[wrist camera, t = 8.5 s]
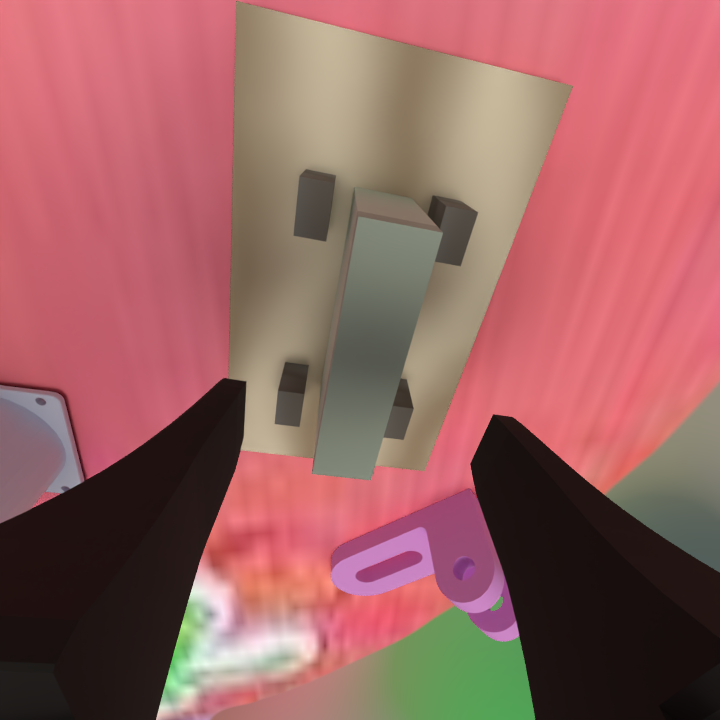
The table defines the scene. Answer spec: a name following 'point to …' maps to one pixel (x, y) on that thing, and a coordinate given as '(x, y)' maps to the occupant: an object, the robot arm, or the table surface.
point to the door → (371, 328)
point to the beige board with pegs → (333, 203)
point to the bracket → (433, 561)
